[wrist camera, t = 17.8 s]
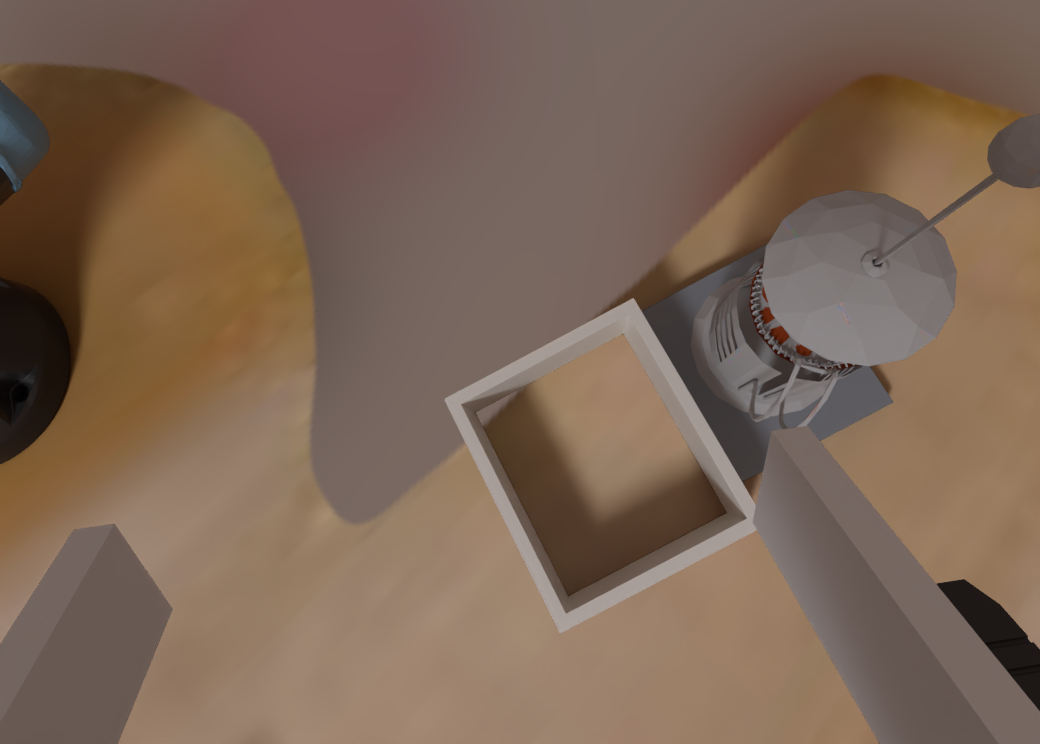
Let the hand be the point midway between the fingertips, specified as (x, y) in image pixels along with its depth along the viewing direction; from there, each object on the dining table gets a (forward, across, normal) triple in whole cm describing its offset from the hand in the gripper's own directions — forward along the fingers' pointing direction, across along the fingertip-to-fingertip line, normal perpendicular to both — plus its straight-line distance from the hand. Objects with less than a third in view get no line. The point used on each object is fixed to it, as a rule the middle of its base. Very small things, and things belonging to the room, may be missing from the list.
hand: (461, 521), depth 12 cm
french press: (+23, +19, -14) cm, 33 cm away
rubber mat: (+23, +19, -14) cm, 33 cm away
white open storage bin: (+21, +8, -19) cm, 29 cm away
